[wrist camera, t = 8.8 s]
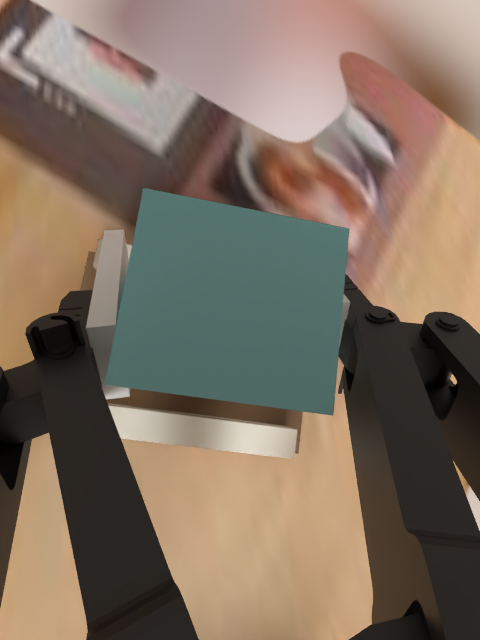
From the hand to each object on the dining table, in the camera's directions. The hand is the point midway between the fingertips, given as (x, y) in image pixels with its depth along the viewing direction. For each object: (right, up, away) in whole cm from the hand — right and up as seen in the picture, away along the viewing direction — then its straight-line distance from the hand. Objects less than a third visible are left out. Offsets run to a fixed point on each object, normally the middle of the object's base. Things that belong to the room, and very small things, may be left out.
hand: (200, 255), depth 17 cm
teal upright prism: (0, -4, +3) cm, 5 cm away
